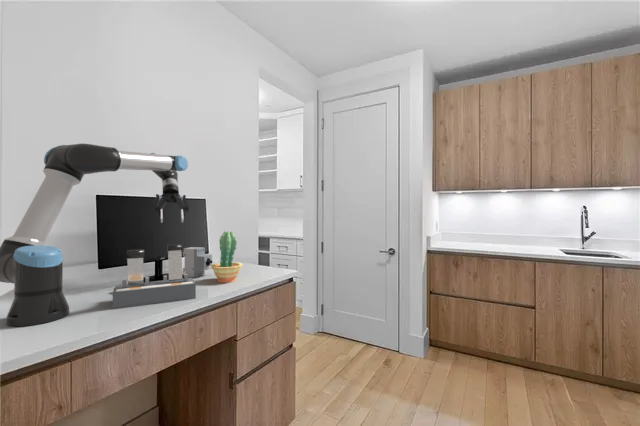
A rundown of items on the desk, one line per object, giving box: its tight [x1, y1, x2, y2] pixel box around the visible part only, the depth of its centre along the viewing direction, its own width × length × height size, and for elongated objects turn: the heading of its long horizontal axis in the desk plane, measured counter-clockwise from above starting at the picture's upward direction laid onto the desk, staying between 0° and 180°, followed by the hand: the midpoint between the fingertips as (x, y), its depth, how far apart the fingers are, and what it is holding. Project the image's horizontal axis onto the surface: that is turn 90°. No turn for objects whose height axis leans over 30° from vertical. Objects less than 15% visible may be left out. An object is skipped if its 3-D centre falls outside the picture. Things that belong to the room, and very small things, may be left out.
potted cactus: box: [211, 230, 244, 283], centre depth 155 cm, size 15×15×25 cm
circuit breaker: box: [182, 246, 214, 278], centre depth 165 cm, size 8×14×15 cm, turn 78°
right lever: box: [166, 243, 183, 281], centre depth 128 cm, size 6×3×15 cm, turn 119°
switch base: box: [112, 273, 197, 310], centre depth 122 cm, size 28×12×9 cm, turn 119°
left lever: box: [125, 249, 145, 286], centre depth 115 cm, size 6×3×15 cm, turn 119°
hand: (172, 220), depth 145 cm, fingers open, 8 cm apart
